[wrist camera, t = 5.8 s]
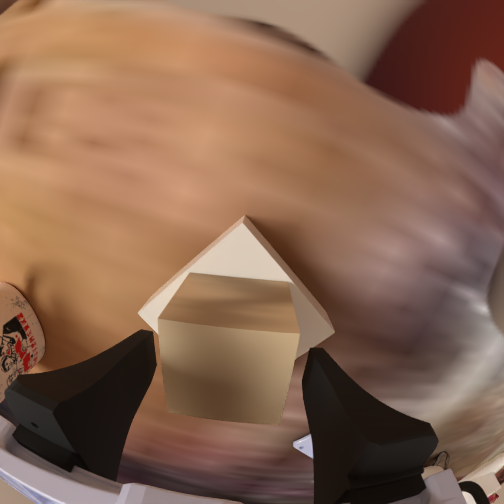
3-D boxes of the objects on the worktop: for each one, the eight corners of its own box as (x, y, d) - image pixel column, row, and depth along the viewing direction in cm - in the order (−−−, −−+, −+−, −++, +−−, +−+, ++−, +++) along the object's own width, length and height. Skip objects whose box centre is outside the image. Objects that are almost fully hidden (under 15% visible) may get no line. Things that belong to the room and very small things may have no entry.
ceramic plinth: (324, 308, 18) (335, 332, 15) (233, 369, 19) (230, 397, 17) (245, 213, 16) (242, 222, 13) (154, 292, 18) (137, 313, 15)
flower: (477, 496, 34) (477, 513, 30) (501, 484, 31) (501, 501, 26) (472, 489, 41) (472, 505, 36) (494, 478, 38) (494, 494, 33)
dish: (409, 517, 35) (418, 547, 24) (461, 473, 28) (478, 510, 17) (474, 488, 34) (485, 512, 24) (524, 436, 27) (541, 463, 17)
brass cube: (287, 281, 14) (300, 333, 9) (275, 360, 15) (279, 424, 11) (189, 272, 14) (157, 318, 9) (190, 352, 15) (167, 411, 11)
